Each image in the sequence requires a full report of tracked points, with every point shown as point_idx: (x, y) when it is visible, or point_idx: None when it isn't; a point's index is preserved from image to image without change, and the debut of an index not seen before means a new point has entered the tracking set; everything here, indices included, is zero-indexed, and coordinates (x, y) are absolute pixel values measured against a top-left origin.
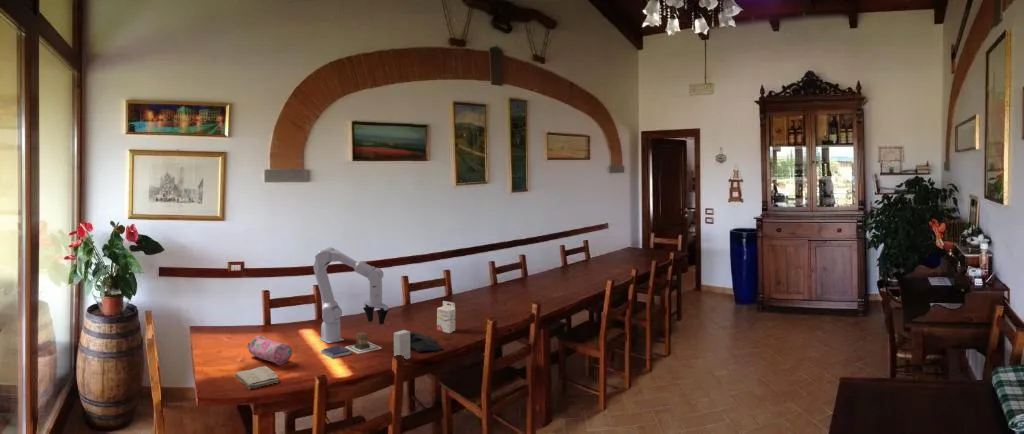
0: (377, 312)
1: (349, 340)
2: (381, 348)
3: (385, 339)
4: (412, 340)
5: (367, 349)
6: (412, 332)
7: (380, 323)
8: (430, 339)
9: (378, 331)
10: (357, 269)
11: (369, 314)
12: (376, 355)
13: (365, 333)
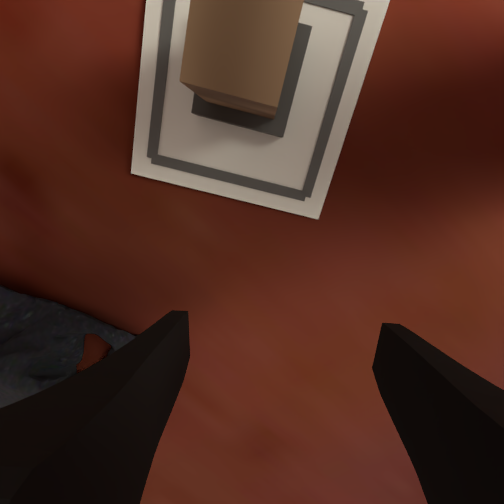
0: (63, 439)
1: (482, 173)
2: (134, 170)
3: (268, 326)
4: (16, 342)
5: (176, 66)
6: None
7: (161, 318)
8: None
9: None
10: None
11: (441, 416)
12: (20, 13)
13: (210, 72)
